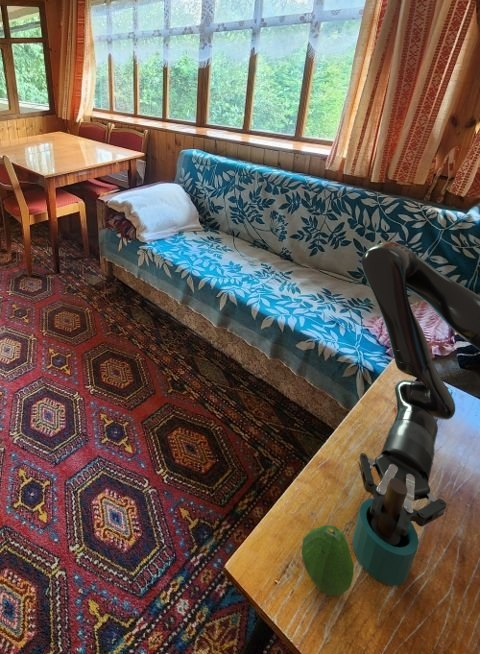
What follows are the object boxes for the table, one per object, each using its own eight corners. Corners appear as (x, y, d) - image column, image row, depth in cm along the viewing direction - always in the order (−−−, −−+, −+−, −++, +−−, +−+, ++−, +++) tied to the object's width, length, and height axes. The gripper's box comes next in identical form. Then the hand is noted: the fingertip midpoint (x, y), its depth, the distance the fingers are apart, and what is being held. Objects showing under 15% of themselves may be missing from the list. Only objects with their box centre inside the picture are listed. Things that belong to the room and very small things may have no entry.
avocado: (353, 572, 66) (363, 531, 62) (343, 620, 61) (353, 578, 57) (306, 539, 72) (312, 498, 67) (293, 580, 66) (299, 539, 62)
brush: (389, 531, 69) (406, 474, 63) (401, 560, 65) (420, 502, 59) (363, 526, 70) (377, 470, 64) (373, 555, 66) (389, 497, 60)
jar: (394, 532, 71) (403, 502, 68) (418, 591, 64) (429, 560, 61) (345, 524, 73) (352, 494, 70) (363, 579, 65) (371, 549, 62)
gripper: (370, 416, 77) (344, 480, 66) (459, 462, 67) (445, 546, 56) (365, 441, 79) (338, 507, 68) (449, 489, 70) (434, 575, 59)
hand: (387, 524), depth 62 cm, fingers closed on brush, 2 cm apart
